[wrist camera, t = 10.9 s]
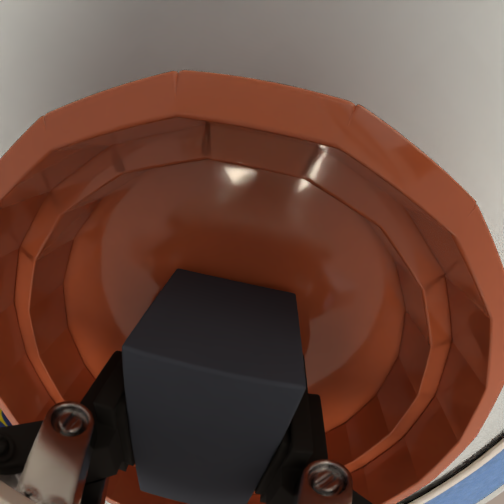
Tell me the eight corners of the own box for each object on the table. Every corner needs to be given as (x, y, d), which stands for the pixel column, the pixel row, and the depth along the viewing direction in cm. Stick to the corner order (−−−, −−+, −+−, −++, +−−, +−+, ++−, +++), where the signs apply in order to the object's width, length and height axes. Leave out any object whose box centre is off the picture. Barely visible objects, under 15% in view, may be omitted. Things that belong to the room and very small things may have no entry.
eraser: (175, 266, 9) (117, 344, 5) (298, 292, 9) (311, 388, 5) (165, 415, 11) (138, 490, 8) (251, 433, 11) (243, 514, 8)
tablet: (574, 352, 10) (584, 363, 9) (581, 399, 12) (587, 406, 11) (377, 512, 16) (379, 524, 15) (439, 516, 18) (441, 524, 17)
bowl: (53, 96, 8) (-56, 92, 3) (485, 186, 8) (589, 226, 4) (72, 406, 13) (33, 470, 9) (342, 466, 14) (351, 540, 9)
